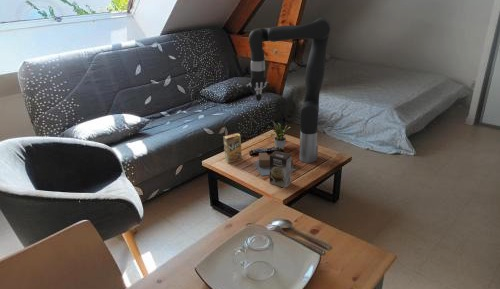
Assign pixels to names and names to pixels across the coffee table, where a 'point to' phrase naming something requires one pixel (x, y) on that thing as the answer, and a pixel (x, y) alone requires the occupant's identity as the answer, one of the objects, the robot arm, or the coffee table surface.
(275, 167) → the coffee box
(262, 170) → the slate rubber mat
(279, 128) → the house plant
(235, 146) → the candy box
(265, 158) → the wooden block
